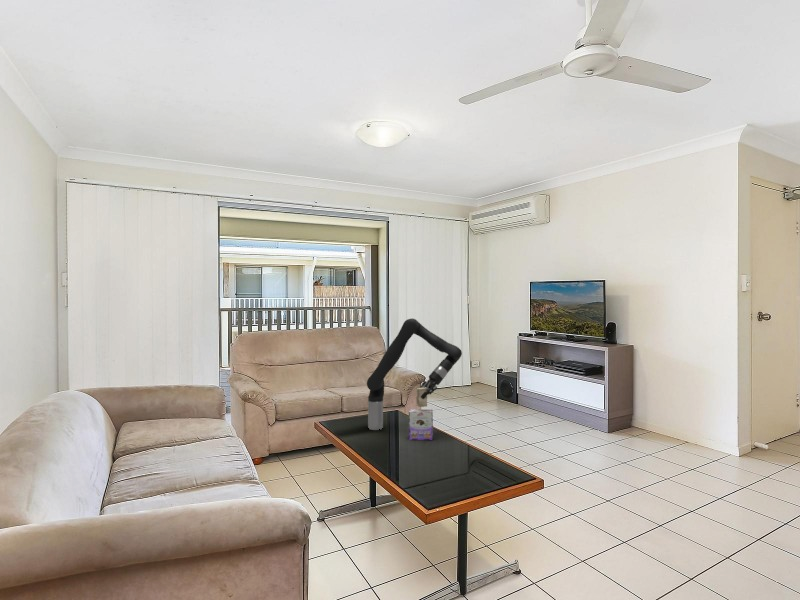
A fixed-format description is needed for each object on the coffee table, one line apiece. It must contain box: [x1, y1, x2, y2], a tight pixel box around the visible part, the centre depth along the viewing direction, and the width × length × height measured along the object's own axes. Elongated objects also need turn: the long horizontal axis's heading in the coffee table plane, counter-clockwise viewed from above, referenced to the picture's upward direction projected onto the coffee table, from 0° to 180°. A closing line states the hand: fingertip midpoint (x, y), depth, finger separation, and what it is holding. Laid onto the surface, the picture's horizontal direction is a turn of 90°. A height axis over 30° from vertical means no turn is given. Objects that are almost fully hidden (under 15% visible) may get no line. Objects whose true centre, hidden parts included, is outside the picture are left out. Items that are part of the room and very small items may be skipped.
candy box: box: [408, 408, 434, 441], centre depth 258 cm, size 14×6×16 cm, turn 84°
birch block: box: [415, 387, 428, 408], centre depth 258 cm, size 5×5×10 cm
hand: (420, 397), depth 258 cm, fingers closed on birch block, 4 cm apart
